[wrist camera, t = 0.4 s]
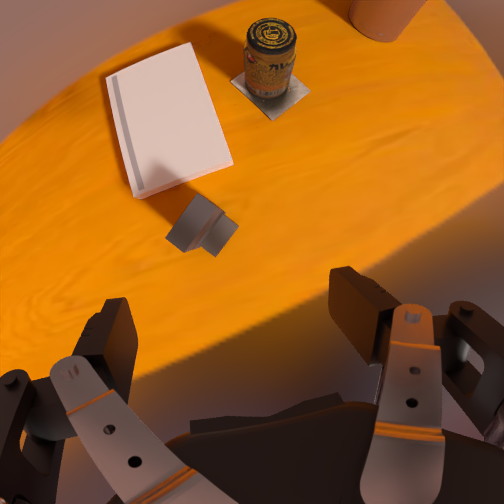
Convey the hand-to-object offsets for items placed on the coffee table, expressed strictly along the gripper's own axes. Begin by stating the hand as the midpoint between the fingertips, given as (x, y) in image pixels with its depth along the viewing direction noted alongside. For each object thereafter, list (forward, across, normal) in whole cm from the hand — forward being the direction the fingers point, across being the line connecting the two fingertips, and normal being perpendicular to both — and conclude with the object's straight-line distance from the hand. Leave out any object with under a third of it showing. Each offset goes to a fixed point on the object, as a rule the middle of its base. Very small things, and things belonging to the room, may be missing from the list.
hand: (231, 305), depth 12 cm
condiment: (+32, -10, -14) cm, 36 cm away
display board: (+33, +4, -10) cm, 35 cm away
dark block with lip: (+28, 0, +5) cm, 28 cm away
